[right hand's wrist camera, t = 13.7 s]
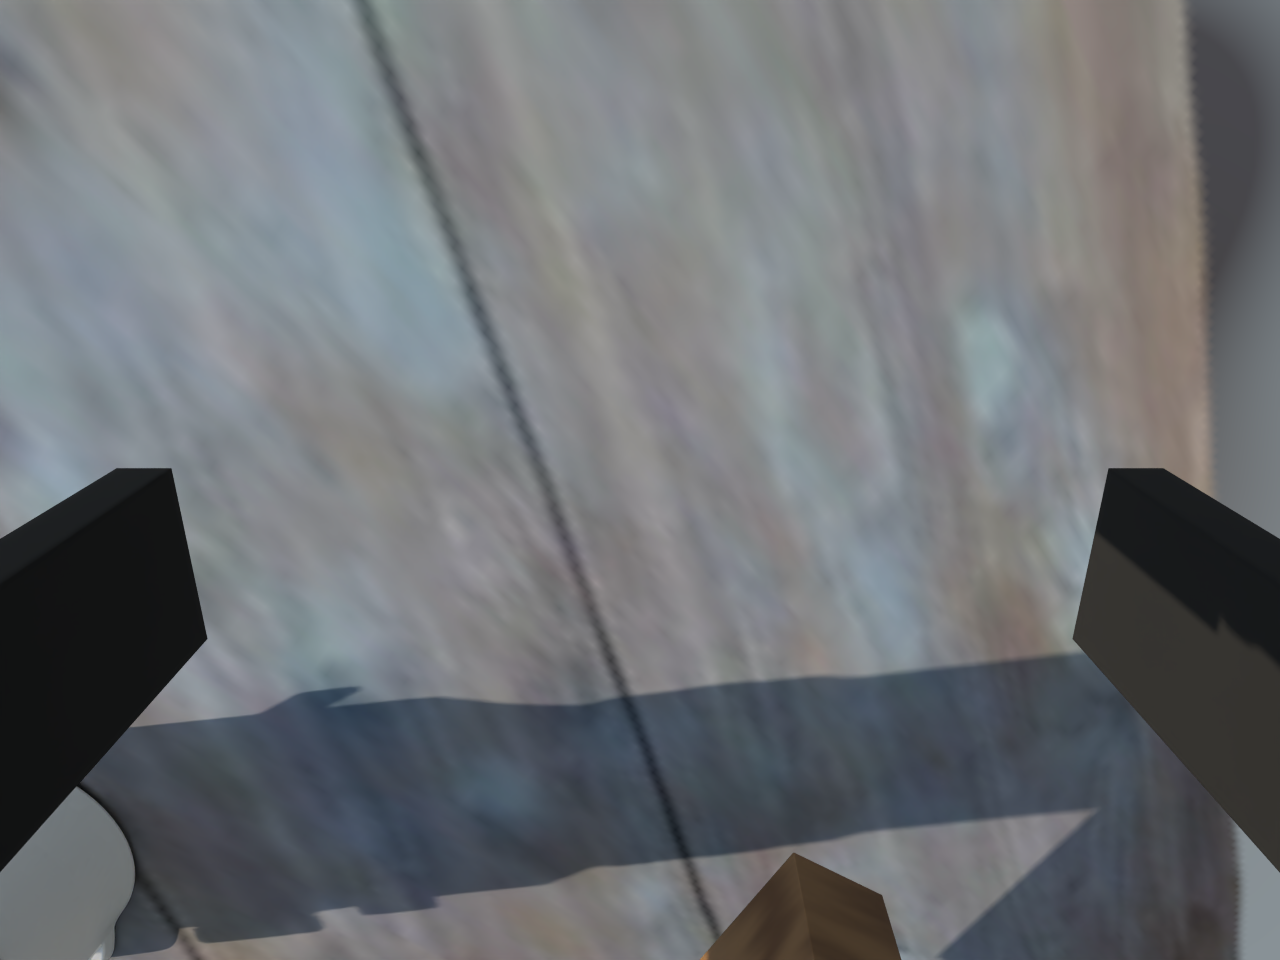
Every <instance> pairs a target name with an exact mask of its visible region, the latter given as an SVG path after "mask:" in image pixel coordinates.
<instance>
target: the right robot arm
mask: <svg viewBox="0 0 1280 960" xmlns="http://www.w3.org/2000/svg"><path fill="white" fill-rule="evenodd" d="M206 640H207V635H206V630H205V625H204V620H203V616H202V611H201V606H200V602H199V597H198V592H197V587H196V583H195V578H194V573H193V568H192V564H191V559H190V554H189V549H188V545H187V540H186V535H185V531H184V526H183V521H182V516H181V512H180V507H179V502H178V497H177V493H176V488H175V483H174V478H173V474H172V469H171V468H116V469H115V470H113V471H112V472H110V473H108V474H107V475H105V476H103V477H102V478H100V479H98V480H97V481H95V482H93V483H92V484H90V485H88V486H87V487H85V488H84V489H82V490H80V491H79V492H77V493H75V494H74V495H72V496H70V497H69V498H67V499H65V500H64V501H62V502H60V503H59V504H57V505H55V506H54V507H52V508H51V509H49V510H47V511H46V512H44V513H42V514H41V515H39V516H37V517H36V518H34V519H32V520H31V521H29V522H27V523H26V524H24V525H22V526H21V527H19V528H18V529H16V530H14V531H13V532H11V533H9V534H8V535H6V536H4V537H3V538H1V539H0V872H1V871H2V870H3V869H4V868H5V866H6V865H7V864H8V863H9V862H10V861H11V860H12V859H13V857H14V856H15V855H16V854H17V853H18V852H19V851H20V850H21V848H22V847H23V846H24V845H25V844H26V843H27V842H28V841H29V839H30V838H31V837H32V836H33V835H34V834H35V833H36V832H37V830H38V829H39V828H40V827H41V826H42V825H43V824H44V822H45V821H46V820H47V819H48V818H49V817H50V816H51V815H52V813H53V812H54V811H55V810H56V809H57V808H58V807H59V806H60V804H61V803H62V802H63V801H64V800H65V799H66V798H67V797H68V795H69V794H70V793H71V792H72V791H73V790H74V789H75V788H76V786H77V785H78V784H79V783H80V782H81V781H82V780H83V779H84V777H85V776H86V775H87V774H88V773H89V772H90V771H91V769H92V768H93V767H94V766H95V765H96V764H97V763H98V762H99V760H100V759H101V758H102V757H103V756H104V755H105V754H106V753H107V751H108V750H109V749H110V748H111V747H112V746H113V745H114V744H115V742H116V741H117V740H118V739H119V738H120V737H121V736H122V735H123V733H124V732H125V731H126V730H127V729H128V728H129V727H130V726H131V724H132V723H133V722H134V721H135V720H136V719H137V718H138V716H139V715H140V714H141V713H142V712H143V711H144V710H145V709H146V707H147V706H148V705H149V704H150V703H151V702H152V701H153V700H154V698H155V697H156V696H157V695H158V694H159V693H160V692H161V691H162V689H163V688H164V687H165V686H166V685H167V684H168V683H169V682H170V680H171V679H172V678H173V677H174V676H175V675H176V674H177V673H178V671H179V670H180V669H181V668H182V667H183V666H184V665H185V663H186V662H187V661H188V660H189V659H190V658H191V657H192V656H193V654H194V653H195V652H196V651H197V650H198V649H199V648H200V647H201V645H202V644H203V643H204V642H205V641H206ZM1073 640H1074V641H1075V642H1076V643H1077V644H1078V645H1079V647H1080V648H1081V649H1082V650H1083V651H1084V652H1085V653H1086V654H1087V656H1088V657H1089V658H1090V659H1091V660H1092V661H1093V662H1094V663H1095V665H1096V666H1097V667H1098V668H1099V669H1100V670H1101V671H1102V673H1103V674H1104V675H1105V676H1106V677H1107V678H1108V679H1109V680H1110V682H1111V683H1112V684H1113V685H1114V686H1115V687H1116V688H1117V689H1118V691H1119V692H1120V693H1121V694H1122V695H1123V696H1124V697H1125V698H1126V700H1127V701H1128V702H1129V703H1130V704H1131V705H1132V706H1133V707H1134V709H1135V710H1136V711H1137V712H1138V713H1139V714H1140V715H1141V716H1142V718H1143V719H1144V720H1145V721H1146V722H1147V723H1148V724H1149V726H1150V727H1151V728H1152V729H1153V730H1154V731H1155V732H1156V733H1157V735H1158V736H1159V737H1160V738H1161V739H1162V740H1163V741H1164V742H1165V744H1166V745H1167V746H1168V747H1169V748H1170V749H1171V750H1172V751H1173V753H1174V754H1175V755H1176V756H1177V757H1178V758H1179V759H1180V760H1181V762H1182V763H1183V764H1184V765H1185V766H1186V767H1187V768H1188V769H1189V771H1190V772H1191V773H1192V774H1193V775H1194V776H1195V777H1196V779H1197V780H1198V781H1199V782H1200V783H1201V784H1202V785H1203V786H1204V788H1205V789H1206V790H1207V791H1208V792H1209V793H1210V794H1211V795H1212V797H1213V798H1214V799H1215V800H1216V801H1217V802H1218V803H1219V804H1220V806H1221V807H1222V808H1223V809H1224V810H1225V811H1226V812H1227V813H1228V815H1229V816H1230V817H1231V818H1232V819H1233V820H1234V821H1235V822H1236V824H1237V825H1238V826H1239V827H1240V828H1241V829H1242V830H1243V832H1244V833H1245V834H1246V835H1247V836H1248V837H1249V838H1250V839H1251V841H1252V842H1253V843H1254V844H1255V845H1256V846H1257V847H1258V848H1259V850H1260V851H1261V852H1262V853H1263V854H1264V855H1265V856H1266V857H1267V859H1268V860H1269V861H1270V862H1271V863H1272V864H1273V865H1274V866H1275V868H1276V869H1277V870H1278V871H1279V872H1280V539H1279V538H1277V537H1276V536H1274V535H1272V534H1271V533H1269V532H1267V531H1266V530H1264V529H1262V528H1261V527H1259V526H1258V525H1256V524H1254V523H1253V522H1251V521H1249V520H1248V519H1246V518H1244V517H1243V516H1241V515H1239V514H1238V513H1236V512H1234V511H1233V510H1231V509H1229V508H1228V507H1226V506H1225V505H1223V504H1221V503H1220V502H1218V501H1216V500H1215V499H1213V498H1211V497H1210V496H1208V495H1206V494H1205V493H1203V492H1201V491H1200V490H1198V489H1196V488H1195V487H1193V486H1192V485H1190V484H1188V483H1187V482H1185V481H1183V480H1182V479H1180V478H1178V477H1177V476H1175V475H1173V474H1172V473H1170V472H1168V471H1167V470H1165V469H1164V468H1109V469H1108V474H1107V478H1106V483H1105V488H1104V493H1103V497H1102V502H1101V507H1100V512H1099V516H1098V521H1097V526H1096V531H1095V535H1094V540H1093V545H1092V549H1091V554H1090V559H1089V564H1088V568H1087V573H1086V578H1085V583H1084V587H1083V592H1082V597H1081V602H1080V606H1079V611H1078V616H1077V620H1076V625H1075V630H1074V635H1073Z"/></svg>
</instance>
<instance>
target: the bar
mask: <svg viewBox="0 0 1280 960" xmlns="http://www.w3.org/2000/svg"><path fill="white" fill-rule="evenodd" d="M700 960H901V957H900V954H899V950H898V947H897V944H896V940H895V937H894V934H893V930H892V927H891V924H890V920H889V917H888V914H887V910H886V907H885V903H884V900H883V897H882V895H881V894H878V893H876V892H874V891H872V890H870V889H868V888H866V887H864V886H862V885H860V884H858V883H856V882H854V881H852V880H850V879H847V878H845V877H843V876H841V875H839V874H837V873H835V872H833V871H831V870H829V869H827V868H825V867H823V866H821V865H819V864H816V863H814V862H812V861H810V860H808V859H806V858H804V857H802V856H800V855H798V854H796V853H793V854H792V855H791V856H790V857H789V858H788V859H787V861H786V862H785V863H784V864H783V865H782V866H781V867H780V869H779V870H778V871H777V872H776V873H775V874H774V875H773V877H772V878H771V879H770V880H769V881H768V882H767V883H766V885H765V886H764V887H763V888H762V889H761V890H760V891H759V893H758V894H757V895H756V896H755V897H754V898H753V899H752V901H751V902H750V903H749V904H748V905H747V906H746V907H745V909H744V910H743V911H742V912H741V913H740V914H739V915H738V917H737V918H736V919H735V920H734V921H733V922H732V923H731V925H730V926H729V927H728V928H727V929H726V930H725V931H724V933H723V934H722V935H721V936H720V937H719V938H718V940H717V941H716V942H715V943H714V944H713V945H712V946H711V948H710V949H709V950H708V951H707V952H706V953H705V954H704V956H703V957H702V958H701V959H700Z"/></svg>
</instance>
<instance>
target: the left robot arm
mask: <svg viewBox="0 0 1280 960" xmlns="http://www.w3.org/2000/svg"><path fill="white" fill-rule="evenodd" d="M134 883H135V865H134V860H133V855H132V852H131V849H130V847H129V844H128V842H127V840H126V838H125V836H124V834H123V832H122V831H121V829H120V828H119V826H118V825H117V823H116V822H115V821H114V819H113V818H112V817H111V816H110V814H109V813H108V812H107V811H106V810H105V809H104V808H103V807H102V806H101V805H100V804H99V803H98V802H97V801H95V800H94V799H93V798H92V797H91V796H89V795H88V794H87V793H86V792H84V791H83V790H81V789H80V788H78V787H77V786H76V788H75V789H74V790H73V791H72V792H71V793H70V794H69V795H68V797H67V798H66V799H65V800H64V801H63V802H62V803H61V804H60V806H59V807H58V808H57V809H56V810H55V811H54V812H53V813H52V815H51V816H50V817H49V818H48V819H47V820H46V821H45V822H44V824H43V825H42V826H41V827H40V828H39V829H38V830H37V832H36V833H35V834H34V835H33V836H32V837H31V838H30V839H29V841H28V842H27V843H26V844H25V845H24V846H23V847H22V848H21V850H20V851H19V852H18V853H17V854H16V855H15V856H14V857H13V859H12V860H11V861H10V862H9V863H8V864H7V865H6V866H5V868H4V869H3V870H2V871H1V872H0V960H108V959H109V958H110V957H111V955H112V954H113V951H114V945H115V928H114V926H115V924H116V921H117V919H118V918H119V916H120V914H121V913H122V912H123V910H124V908H125V907H126V905H127V904H128V902H129V900H130V898H131V895H132V892H133V889H134Z"/></svg>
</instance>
